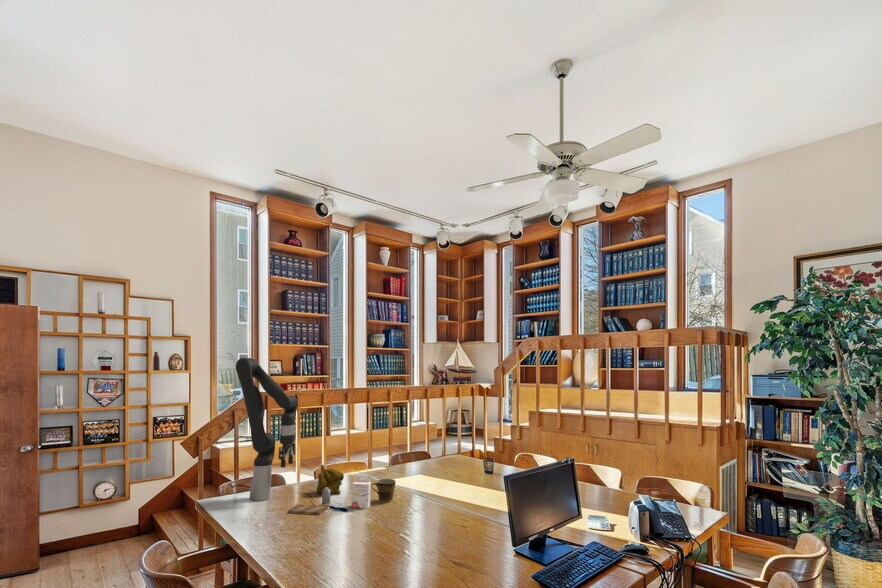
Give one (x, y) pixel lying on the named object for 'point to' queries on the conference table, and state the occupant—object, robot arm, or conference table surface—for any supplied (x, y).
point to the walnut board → (308, 509)
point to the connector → (326, 497)
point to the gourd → (329, 480)
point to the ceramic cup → (385, 489)
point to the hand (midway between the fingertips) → (286, 465)
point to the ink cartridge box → (361, 492)
